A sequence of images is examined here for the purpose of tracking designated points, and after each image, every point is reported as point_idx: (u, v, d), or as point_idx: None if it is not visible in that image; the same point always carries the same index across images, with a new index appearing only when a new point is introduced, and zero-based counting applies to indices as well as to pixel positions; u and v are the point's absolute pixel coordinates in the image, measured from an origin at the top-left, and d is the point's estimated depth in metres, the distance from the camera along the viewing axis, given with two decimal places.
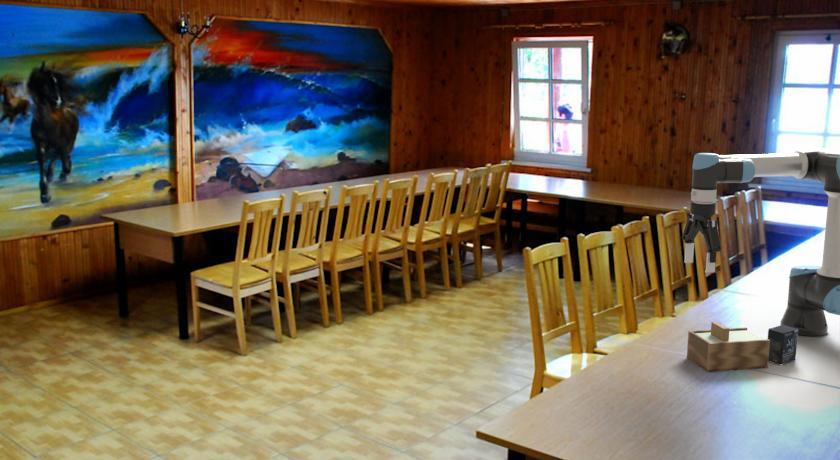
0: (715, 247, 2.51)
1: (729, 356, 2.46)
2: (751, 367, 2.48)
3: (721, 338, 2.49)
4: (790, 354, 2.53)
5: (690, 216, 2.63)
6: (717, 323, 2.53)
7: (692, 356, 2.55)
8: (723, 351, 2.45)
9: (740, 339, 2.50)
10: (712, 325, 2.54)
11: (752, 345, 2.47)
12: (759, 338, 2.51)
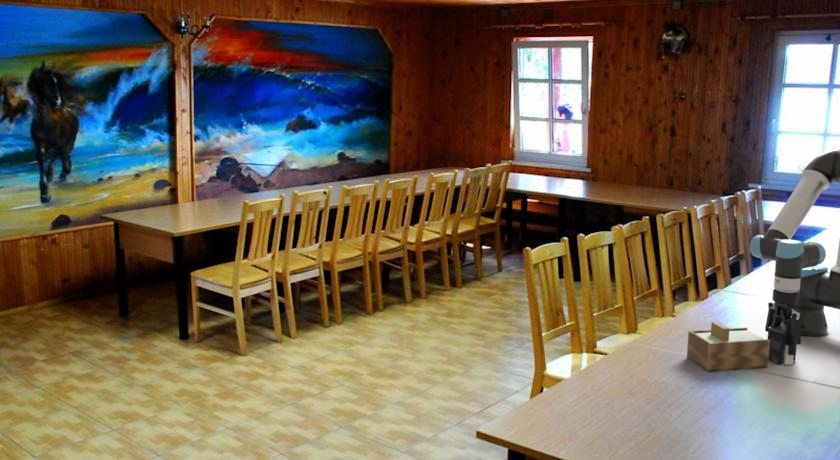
0: None
1: (729, 356, 2.46)
2: (751, 367, 2.48)
3: (721, 338, 2.49)
4: None
5: (771, 304, 2.58)
6: (717, 323, 2.53)
7: (692, 356, 2.55)
8: (723, 351, 2.45)
9: (740, 339, 2.50)
10: (712, 325, 2.54)
11: (752, 345, 2.47)
12: (759, 338, 2.51)
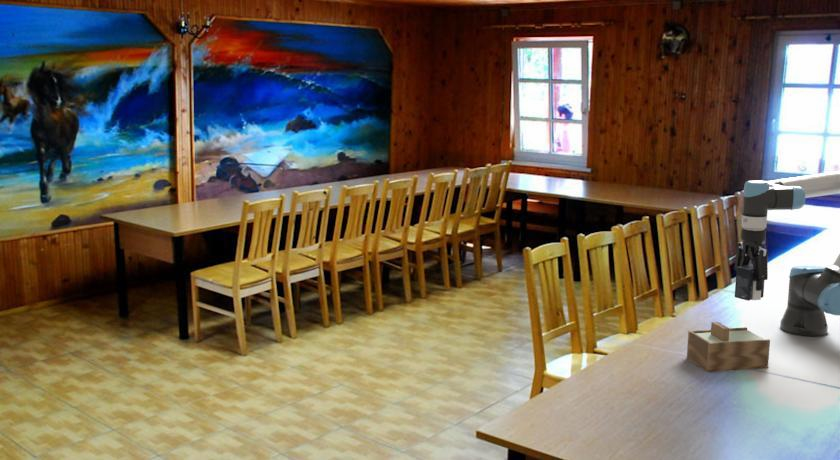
0: None
1: (729, 356, 2.46)
2: (751, 367, 2.48)
3: (721, 338, 2.49)
4: None
5: (739, 244, 2.70)
6: (717, 323, 2.53)
7: (692, 356, 2.55)
8: (723, 351, 2.45)
9: (740, 339, 2.50)
10: (712, 325, 2.54)
11: (752, 345, 2.47)
12: (759, 338, 2.51)
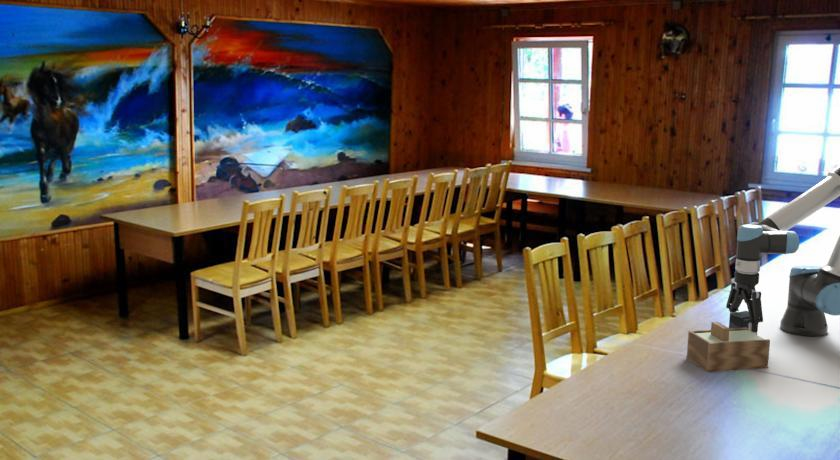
0: (757, 317, 2.64)
1: (729, 356, 2.46)
2: (751, 367, 2.48)
3: (721, 338, 2.49)
4: None
5: (733, 284, 2.74)
6: (717, 323, 2.53)
7: (692, 356, 2.55)
8: (723, 351, 2.45)
9: (740, 339, 2.50)
10: (712, 325, 2.54)
11: (752, 345, 2.47)
12: (759, 338, 2.51)
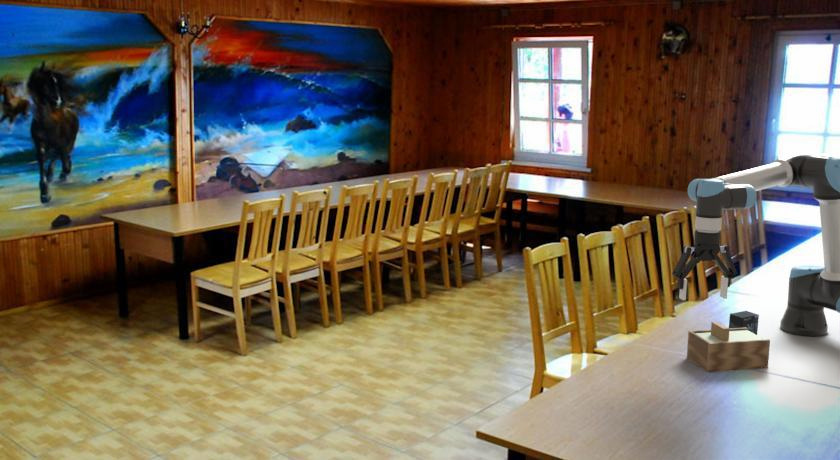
0: (682, 274, 2.45)
1: (729, 356, 2.46)
2: (751, 367, 2.48)
3: (721, 338, 2.49)
4: None
5: None
6: (717, 323, 2.53)
7: (692, 356, 2.55)
8: (723, 351, 2.45)
9: (740, 339, 2.50)
10: (712, 325, 2.54)
11: (752, 345, 2.47)
12: (759, 338, 2.51)
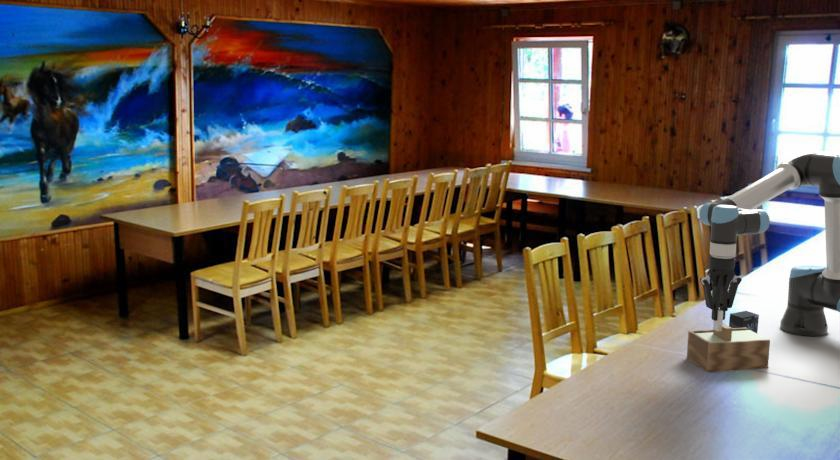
0: (714, 306, 2.49)
1: (729, 356, 2.46)
2: (751, 367, 2.48)
3: (724, 338, 2.49)
4: None
5: None
6: None
7: (692, 356, 2.55)
8: (723, 351, 2.45)
9: (743, 339, 2.50)
10: None
11: (752, 345, 2.47)
12: (762, 338, 2.51)
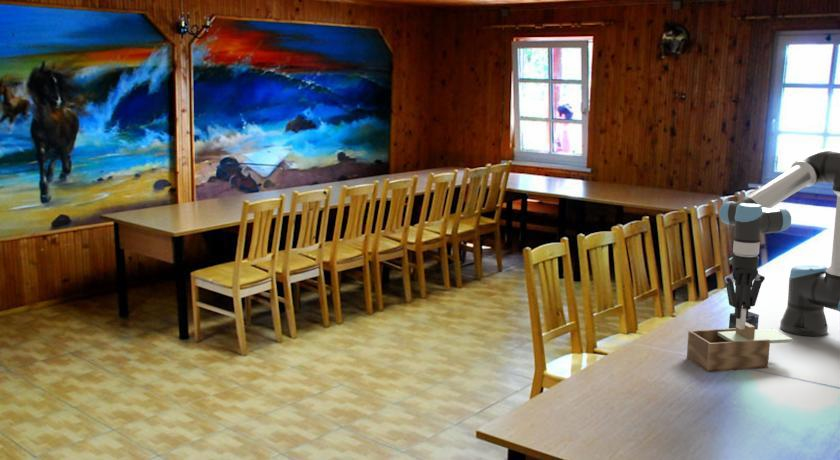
0: (737, 304, 2.50)
1: (729, 356, 2.46)
2: (751, 367, 2.48)
3: (747, 336, 2.50)
4: None
5: None
6: None
7: (692, 356, 2.55)
8: (723, 351, 2.45)
9: (765, 337, 2.51)
10: None
11: (752, 345, 2.47)
12: (784, 336, 2.52)
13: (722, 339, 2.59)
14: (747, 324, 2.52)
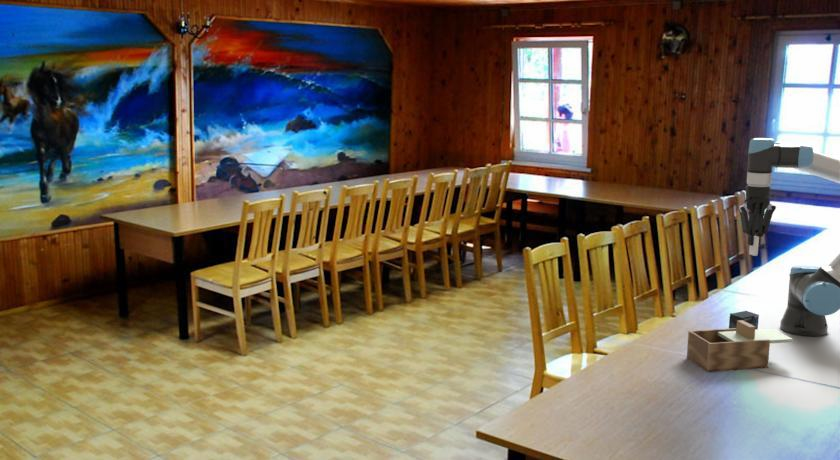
0: (751, 232, 2.70)
1: (729, 356, 2.46)
2: (751, 367, 2.48)
3: (747, 336, 2.50)
4: None
5: None
6: (743, 321, 2.54)
7: (692, 356, 2.55)
8: (723, 351, 2.45)
9: (766, 337, 2.51)
10: (737, 323, 2.55)
11: (752, 345, 2.47)
12: (784, 336, 2.52)
13: (722, 339, 2.59)
14: (747, 324, 2.52)
